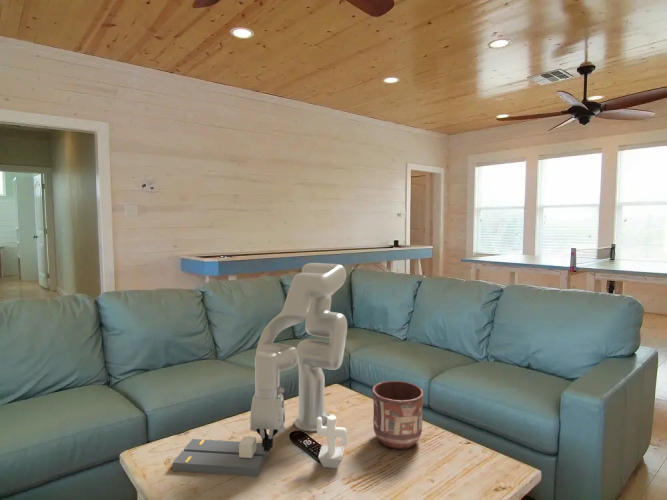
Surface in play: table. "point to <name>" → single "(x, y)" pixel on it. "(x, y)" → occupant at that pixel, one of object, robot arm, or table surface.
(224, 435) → the table surface
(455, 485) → the table surface
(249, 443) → the fader knob
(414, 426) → the pottery
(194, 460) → the fader board
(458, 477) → the table surface
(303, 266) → the robot arm
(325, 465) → the figurine
